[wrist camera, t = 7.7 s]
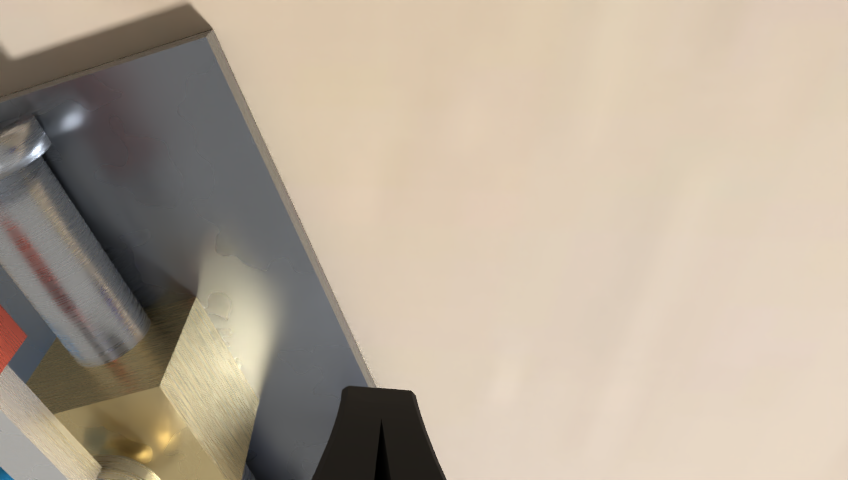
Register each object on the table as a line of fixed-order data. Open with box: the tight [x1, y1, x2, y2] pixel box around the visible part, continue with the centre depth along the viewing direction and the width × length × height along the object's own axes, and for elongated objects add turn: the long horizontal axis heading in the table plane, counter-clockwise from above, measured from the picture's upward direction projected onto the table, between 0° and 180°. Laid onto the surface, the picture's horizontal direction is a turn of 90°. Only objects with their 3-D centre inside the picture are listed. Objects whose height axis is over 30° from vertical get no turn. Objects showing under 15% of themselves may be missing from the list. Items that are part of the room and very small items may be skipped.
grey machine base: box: [0, 29, 376, 480], centre depth 21 cm, size 20×13×5 cm, turn 16°
